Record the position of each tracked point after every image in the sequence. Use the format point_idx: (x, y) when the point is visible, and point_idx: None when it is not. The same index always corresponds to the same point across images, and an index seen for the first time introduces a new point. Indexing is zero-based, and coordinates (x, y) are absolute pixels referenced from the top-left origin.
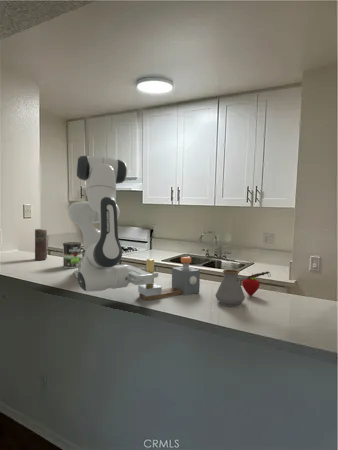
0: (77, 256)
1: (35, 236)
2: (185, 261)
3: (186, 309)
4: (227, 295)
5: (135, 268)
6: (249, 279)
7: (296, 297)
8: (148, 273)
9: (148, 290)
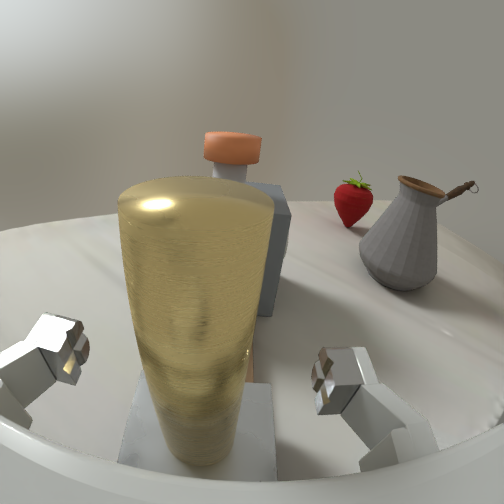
0: None
1: None
2: (252, 154)
3: (440, 394)
4: (435, 264)
5: (43, 500)
6: (361, 189)
7: (371, 205)
8: (501, 462)
9: None
